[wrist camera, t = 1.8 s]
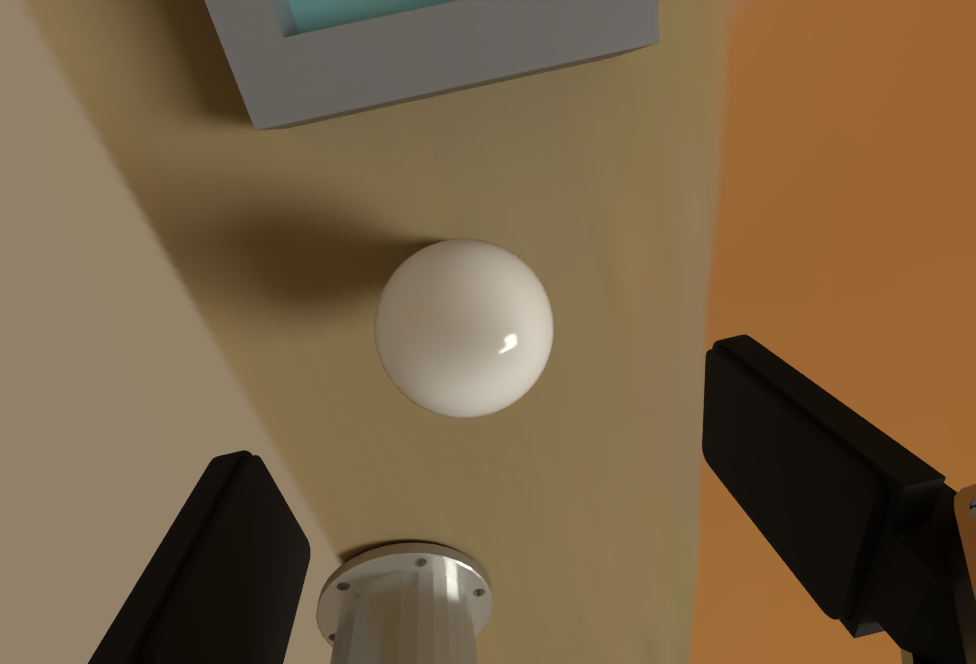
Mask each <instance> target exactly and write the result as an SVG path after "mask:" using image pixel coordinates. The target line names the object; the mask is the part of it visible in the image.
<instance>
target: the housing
mask: <svg viewBox="0 0 976 664" xmlns="http://www.w3.org/2000/svg"><path fill="white" fill-rule="evenodd" d="M205 3H206V6H207V8H208V11H209V13H210V16H211V18H212V21H213V23H214V26H215V29H216V31H217V34H218V36H219V39H220V41H221V44H222V46H223V49H224V52H225V54H226V57H227V59H228V62H229V64H230V67H231V70H232V72H233V75H234V77H235V80H236V82H237V85H238V87H239V90H240V93H241V95H242V98H243V100H244V103H245V105H246V108H247V110H248V113H249V116H250V118H251V121H252V123H253V126H254V128H255V131H257V130H271V129H285V128H291V127H295V126H300V125H304V124H309V123H313V122H318V121H323V120H327V119H332V118H336V117H341V116H346V115H350V114H355V113H359V112H364V111H368V110H373V109H378V108H382V107H387V106H391V105H396V104H401V103H405V102H410V101H414V100H419V99H424V98H428V97H433V96H437V95H442V94H446V93H451V92H456V91H460V90H465V89H469V88H474V87H479V86H483V85H488V84H492V83H497V82H501V81H506V80H511V79H515V78H520V77H524V76H529V75H534V74H538V73H543V72H547V71H552V70H557V69H561V68H566V67H570V66H575V65H579V64H584V63H589V62H593V61H598V60H602V59H607V58H612V57H616V56H620V55H623V54H626V53H629V52H632V51H635V50H638V49H641V48H644V47H647V46H650V45H654V44H657V43H659V26H658V0H205Z"/></svg>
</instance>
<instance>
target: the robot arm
mask: <svg viewBox="0 0 976 664" xmlns="http://www.w3.org/2000/svg"><path fill="white" fill-rule="evenodd" d="M702 450H703V454H704V457H705V460H706V462H707V463H708V464H709V466H710V467H711V469H712V470H713V471H714V472H715V474H716V475H717V476H718V478H719V479H720V480H721V482H722V483H723V484H724V485H725V487H726V488H727V489H728V491H729V492H730V493H731V494H732V496H733V497H734V498H735V499H736V501H737V502H738V503H739V505H740V506H741V507H742V508H743V510H744V511H745V512H746V514H747V515H748V516H749V517H750V519H751V520H752V521H753V522H754V524H755V525H756V526H757V528H758V529H759V530H760V531H761V533H762V534H763V535H764V537H765V538H766V539H767V540H768V542H769V543H770V544H771V546H772V547H773V548H774V549H775V551H776V552H777V553H778V555H779V556H780V557H781V558H782V560H783V561H784V562H785V563H786V565H787V566H788V567H789V569H790V570H791V571H792V572H793V574H794V575H795V576H796V578H797V579H798V580H799V581H800V582H801V584H802V585H803V586H804V588H805V589H806V590H807V592H808V593H809V594H810V596H811V597H812V598H813V599H814V600H815V602H816V603H817V604H818V606H819V607H820V608H821V609H822V611H823V612H824V613H825V614H826V615H828V616H829V617H830V618H832V619H834V620H836V619H839V620H840V621H841V623H842V624H843V625H844V626H845V628H846V629H847V630H848V631H849V633H850V634H851V635H852V636H853V638H858V637H861V636H865V635H870V634H874V633H878V632H882V631H886V632H887V633H888V634H889V636H890V637H891V638H892V639H893V640H894V641H895V642H896V644H897V645H899V647H900V648H901V657H902V664H976V484H973V485H971V486H968V487H965V488H962V489H961V490H960V491H959V492H958V493H957V492H956V491H954V490H953V489H952V488H950V487H949V486H947V485H946V484H945V483H944V481H945V478H946V477H945V476H943V475H942V474H941V473H939V472H938V471H936V470H935V469H934V468H932V467H931V466H929V465H928V464H927V463H925V462H924V461H922V460H921V459H920V458H918V457H917V456H916V455H914V454H913V453H911V452H910V451H909V450H907V449H906V448H904V447H903V446H902V445H900V444H899V443H898V442H896V441H895V440H893V439H892V438H891V437H889V436H888V435H886V434H885V433H884V432H882V431H881V430H879V429H878V428H876V427H875V426H874V425H872V424H871V423H870V422H868V421H867V420H865V419H864V418H863V417H861V416H859V415H858V414H857V413H856V412H854V411H853V410H852V409H850V408H849V407H847V406H846V405H844V404H843V403H842V402H840V401H839V400H837V399H836V398H835V397H833V396H832V395H831V394H829V393H828V392H826V391H825V390H824V389H822V388H821V387H819V386H818V385H817V384H815V383H814V382H813V381H811V380H810V379H808V378H807V377H806V376H804V375H803V374H801V373H800V372H799V371H797V370H796V369H794V368H793V367H792V366H790V365H789V364H787V363H786V362H785V361H783V360H782V359H780V358H779V357H778V356H776V355H775V354H774V353H772V352H771V351H769V350H768V349H767V348H765V347H764V346H762V345H761V344H760V343H758V342H757V341H755V340H754V339H753V338H751V337H750V336H748V335H739V336H735V337H731V338H726V339H722V340H718V341H716V342H715V343H714V345H713V348H712V349H710V350H708V351H707V353H706V363H705V388H704V413H703V438H702ZM309 560H310V545H309V542H308V539H307V538H306V536H305V534H304V532H303V531H302V529H301V527H300V525H299V524H298V522H297V520H296V518H295V517H294V515H293V513H292V511H291V510H290V508H289V506H288V504H287V503H286V501H285V499H284V497H283V496H282V494H281V492H280V490H279V489H278V487H277V485H276V483H275V482H274V480H273V478H272V476H271V475H270V473H269V471H268V469H267V468H266V466H265V464H264V462H263V461H262V459H261V458H260V457H259V456H257V455H253V456H252V454H251V453H250V452H248V451H244V450H243V451H239V452H234V453H230V454H226V455H221V456H217V457H215V458H213V459H212V460H211V462H210V463H209V465H208V466H207V468H206V470H205V471H204V473H203V475H202V477H201V478H200V480H199V481H198V483H197V485H196V486H195V488H194V489H193V491H192V493H191V494H190V496H189V498H188V499H187V501H186V503H185V504H184V506H183V508H182V509H181V511H180V512H179V514H178V516H177V517H176V519H175V521H174V522H173V524H172V526H171V527H170V529H169V531H168V532H167V534H166V536H165V537H164V539H163V541H162V542H161V544H160V546H159V547H158V549H157V551H156V552H155V554H154V556H153V557H152V559H151V560H150V562H149V564H148V565H147V567H146V568H145V570H144V572H143V574H142V575H141V577H140V578H139V580H138V582H137V583H136V585H135V587H134V588H133V590H132V592H131V593H130V595H129V597H128V599H127V600H126V601H125V603H124V605H123V606H122V608H121V610H120V611H119V613H118V615H117V616H116V618H115V620H114V621H113V623H112V624H111V626H110V628H109V629H108V631H107V633H106V635H105V636H104V638H103V640H102V641H101V643H100V644H99V646H98V648H97V649H96V651H95V652H94V654H93V656H92V658H91V659H90V661H89V662H88V664H283V661H284V658H285V653H286V650H287V646H288V641H289V638H290V634H291V630H292V627H293V623H294V619H295V615H296V610H297V607H298V603H299V599H300V595H301V592H302V588H303V584H304V580H305V576H306V572H307V568H308V564H309ZM491 610H492V593H491V588H490V583H489V580H488V578H487V576H486V574H485V572H484V570H483V569H482V568H481V567H480V566H479V565H478V564H477V563H476V562H475V561H473V560H472V559H471V558H469V557H468V556H466V555H465V554H463V553H460V552H458V551H456V550H453V549H451V548H447V547H444V546H440V545H436V544H427V543H399V544H393V545H387V546H382V547H379V548H376V549H373V550H369V551H366V552H364V553H362V554H360V555H358V556H356V557H354V558H352V559H350V560H349V561H347V562H346V563H345V564H343V565H342V566H340V567H339V568H338V569H337V570H336V571H335V572H334V573H333V574H332V575H331V576H330V577H329V578H328V580H327V581H326V583H325V585H324V587H323V588H322V591H321V594H320V598H319V602H318V606H317V614H316V618H317V624H318V628H319V630H320V632H321V634H322V636H323V637H324V638H325V639H326V641H327V642H328V643H329V644H330V645H331V646H332V647H333V651H332V657H331V663H330V664H477V655H476V645H475V637H477V635H478V634H479V633H480V632H481V631H482V629H483V628H484V627H485V625H486V623H487V621H488V620H489V618H490V615H491Z"/></svg>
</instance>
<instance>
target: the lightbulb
mask: <svg viewBox="0 0 976 664" xmlns="http://www.w3.org/2000/svg"><path fill="white" fill-rule="evenodd" d="M553 335H554V323H553V314H552V309H551V305H550V302H549V299H548V296H547V293H546V291H545V289H544V287H543V285H542V283H541V282H540V280H539V279H538V277H537V276H536V274H535V273H534V272H533V271H532V269H531V268H530V267H529V266H528V265H527V264H526V263H525V262H524V261H523V260H521V259H520V258H519V257H518V256H516V255H515V254H513V253H512V252H510V251H508V250H507V249H505V248H503V247H500V246H498V245H496V244H493V243H490V242H486V241H482V240H476V239H452V240H446V241H441V242H438V243H435V244H432V245H429V246H427V247H425V248H423V249H421V250H419V251H418V252H416V253H414V254H413V255H412V256H410V257H409V258H408V259H406V260H405V261H404V262H403V263H402V264H401V265H400V266H399V267H398V268H397V269H396V270H395V271H394V273H393V274H392V275H391V277H390V278H389V280H388V281H387V283H386V285H385V287H384V288H383V291H382V293H381V295H380V298H379V301H378V304H377V308H376V312H375V320H374V337H375V344H376V349H377V352H378V356H379V359H380V361H381V364H382V366H383V368H384V370H385V372H386V374H387V375H388V377H389V378H390V380H391V381H392V383H393V384H394V385H395V386H396V388H397V389H398V390H399V391H400V392H401V393H402V394H403V395H404V396H406V397H407V398H408V399H409V400H411V401H412V402H413V403H415V404H417V405H418V406H420V407H422V408H424V409H426V410H428V411H430V412H433V413H436V414H439V415H443V416H447V417H453V418H474V417H481V416H485V415H489V414H492V413H495V412H498V411H500V410H502V409H504V408H506V407H508V406H510V405H511V404H513V403H515V402H516V401H517V400H519V399H520V398H521V397H522V396H524V395H525V394H526V393H527V392H528V391H529V390H530V389H531V388H532V386H533V385H534V384H535V383H536V381H537V380H538V378H539V377H540V375H541V374H542V372H543V370H544V368H545V366H546V364H547V361H548V359H549V356H550V352H551V348H552V343H553Z"/></svg>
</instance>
